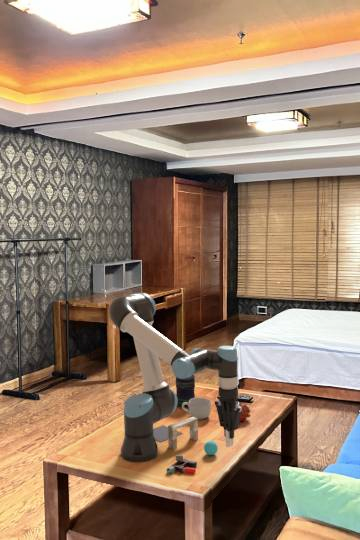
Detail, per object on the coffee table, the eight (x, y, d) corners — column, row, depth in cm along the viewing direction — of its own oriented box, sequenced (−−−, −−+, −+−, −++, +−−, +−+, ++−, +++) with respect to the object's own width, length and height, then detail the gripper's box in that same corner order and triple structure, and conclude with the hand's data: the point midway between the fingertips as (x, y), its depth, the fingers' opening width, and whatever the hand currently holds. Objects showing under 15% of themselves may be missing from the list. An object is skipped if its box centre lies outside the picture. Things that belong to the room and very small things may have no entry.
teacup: (211, 413, 262) (211, 397, 262) (210, 421, 252) (210, 405, 251) (183, 412, 264) (183, 396, 263) (181, 421, 253) (180, 404, 252)
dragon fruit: (248, 419, 257) (236, 431, 248) (235, 407, 261) (222, 418, 251) (257, 408, 253) (244, 420, 244) (243, 396, 256) (230, 407, 247)
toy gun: (163, 474, 202) (163, 462, 201) (183, 462, 211) (183, 450, 211) (184, 482, 196) (184, 469, 195) (203, 469, 205) (203, 457, 205)
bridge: (198, 438, 232) (197, 418, 231) (173, 449, 222) (173, 427, 222) (193, 436, 234) (192, 416, 234) (168, 447, 225) (168, 425, 224)
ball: (211, 458, 213) (211, 445, 212) (201, 454, 217) (201, 441, 216) (220, 454, 217) (220, 441, 216) (210, 450, 221) (210, 437, 220)
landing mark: (160, 442, 229) (160, 441, 229) (141, 433, 239) (141, 433, 239) (182, 433, 238) (182, 433, 238) (163, 425, 248) (163, 425, 248)
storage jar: (177, 401, 280) (177, 373, 279) (196, 401, 279) (195, 373, 278) (174, 407, 271) (174, 379, 269) (194, 408, 269) (193, 379, 268)
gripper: (247, 387, 205) (248, 447, 207) (222, 381, 214) (223, 438, 216) (234, 392, 200) (235, 453, 202) (209, 385, 209) (210, 443, 211)
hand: (229, 445), depth 209 cm, fingers closed
